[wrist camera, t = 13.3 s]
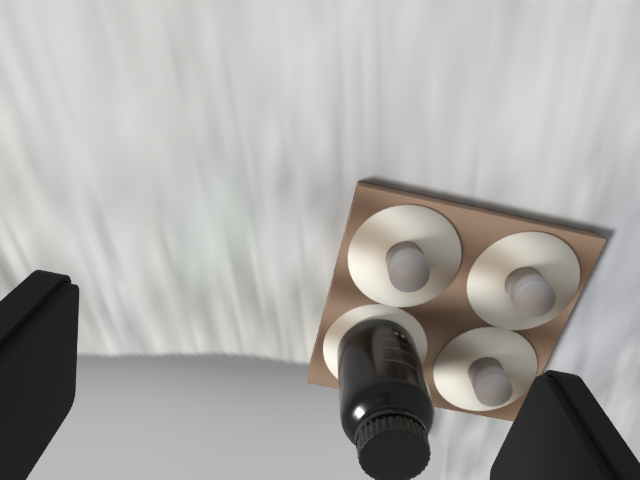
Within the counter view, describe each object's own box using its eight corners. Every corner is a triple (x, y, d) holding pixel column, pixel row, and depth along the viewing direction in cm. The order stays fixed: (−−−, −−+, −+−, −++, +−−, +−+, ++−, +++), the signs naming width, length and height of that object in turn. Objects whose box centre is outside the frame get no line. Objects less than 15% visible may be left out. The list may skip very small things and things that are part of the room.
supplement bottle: (386, 392, 47) (404, 509, 36) (322, 359, 45) (320, 470, 34) (432, 338, 44) (467, 446, 33) (365, 301, 43) (379, 401, 32)
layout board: (357, 181, 40) (361, 199, 36) (599, 233, 42) (626, 256, 38) (307, 374, 48) (305, 406, 44) (513, 413, 49) (528, 447, 46)
